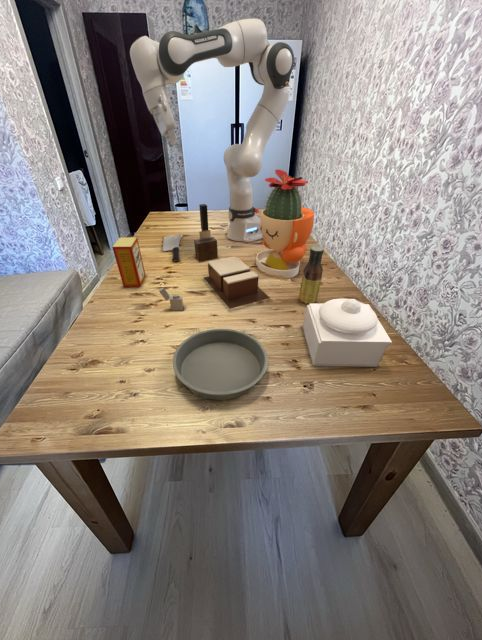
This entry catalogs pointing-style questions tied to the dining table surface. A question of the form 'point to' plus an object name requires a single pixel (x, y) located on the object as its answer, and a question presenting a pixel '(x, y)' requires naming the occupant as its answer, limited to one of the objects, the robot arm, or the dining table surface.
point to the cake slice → (240, 284)
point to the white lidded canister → (344, 334)
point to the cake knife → (204, 223)
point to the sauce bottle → (312, 276)
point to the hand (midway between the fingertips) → (173, 145)
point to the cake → (225, 269)
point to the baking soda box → (129, 261)
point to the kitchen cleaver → (172, 245)
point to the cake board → (238, 300)
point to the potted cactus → (284, 227)
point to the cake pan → (220, 363)
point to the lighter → (173, 300)
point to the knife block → (206, 249)
